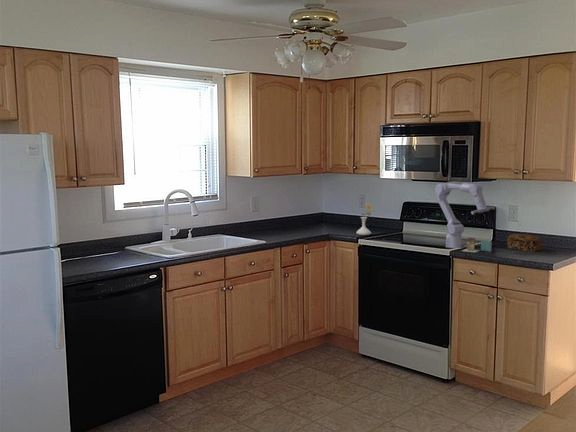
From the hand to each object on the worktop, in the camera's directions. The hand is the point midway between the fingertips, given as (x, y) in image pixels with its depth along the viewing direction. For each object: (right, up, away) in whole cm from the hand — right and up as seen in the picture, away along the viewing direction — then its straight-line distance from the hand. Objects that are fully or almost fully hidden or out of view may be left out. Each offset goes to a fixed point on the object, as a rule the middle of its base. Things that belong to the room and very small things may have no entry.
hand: (486, 222), depth 348 cm
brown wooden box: (-8, -18, +7) cm, 21 cm away
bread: (+29, -18, +14) cm, 37 cm away
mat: (-8, -18, +7) cm, 21 cm away
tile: (+1, -18, +6) cm, 19 cm away
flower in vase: (-65, -11, +81) cm, 104 cm away
